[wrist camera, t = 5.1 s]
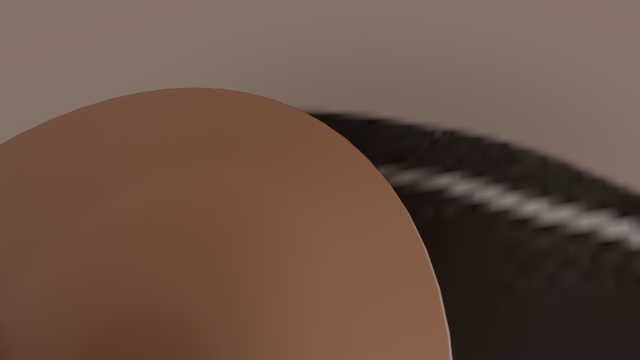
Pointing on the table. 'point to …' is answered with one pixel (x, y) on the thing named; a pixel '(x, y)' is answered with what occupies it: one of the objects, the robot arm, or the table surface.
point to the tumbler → (207, 238)
